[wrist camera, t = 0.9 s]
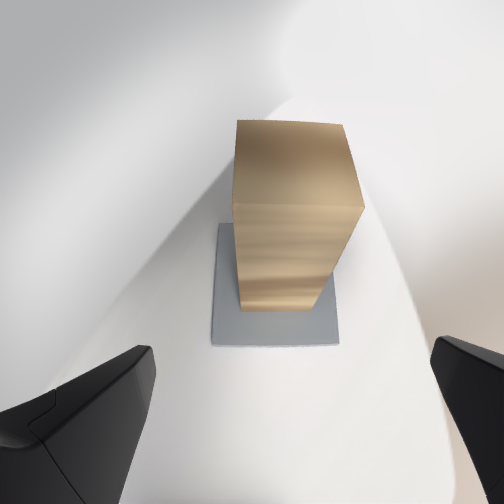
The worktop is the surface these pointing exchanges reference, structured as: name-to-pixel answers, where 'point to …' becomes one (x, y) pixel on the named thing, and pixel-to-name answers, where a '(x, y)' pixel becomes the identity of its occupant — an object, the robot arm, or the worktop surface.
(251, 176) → the oak block
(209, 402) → the worktop surface
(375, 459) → the worktop surface
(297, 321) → the tile
